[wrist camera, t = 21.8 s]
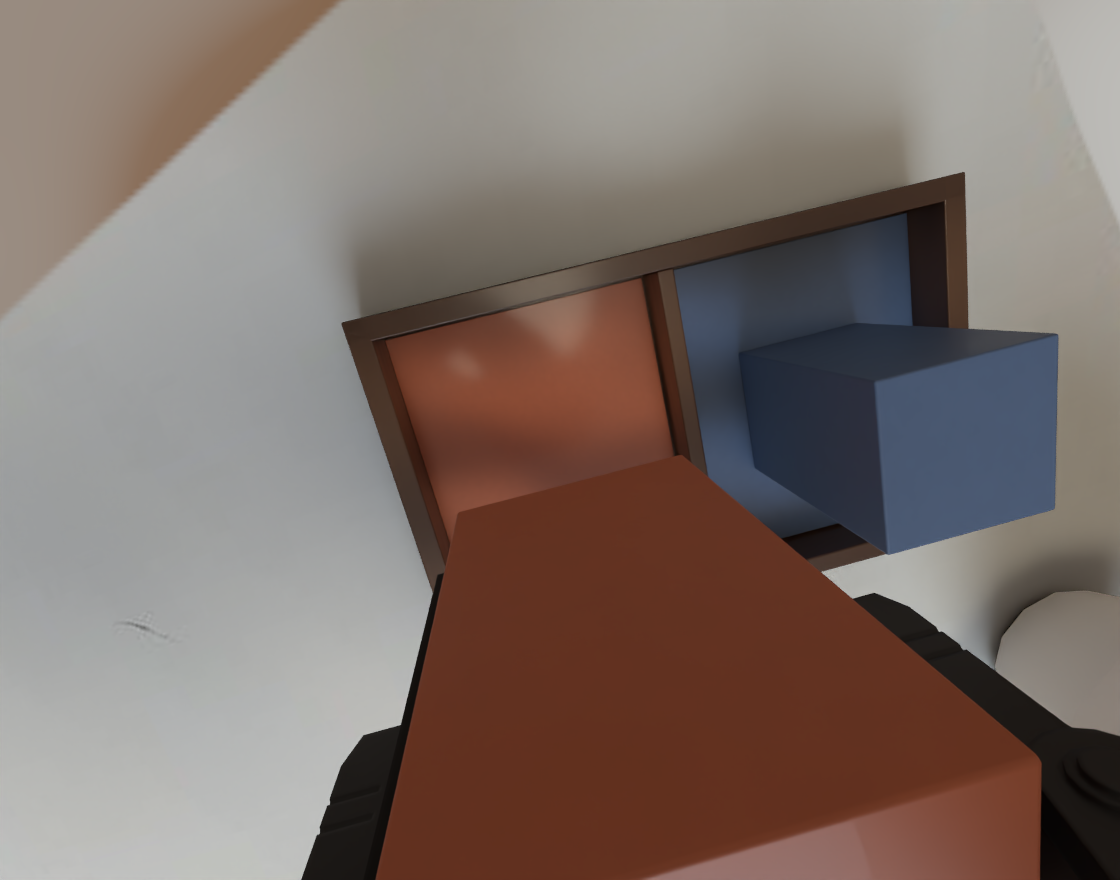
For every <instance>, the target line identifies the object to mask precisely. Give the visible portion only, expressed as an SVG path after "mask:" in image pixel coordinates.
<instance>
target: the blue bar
mask: <svg viewBox="0 0 1120 880" xmlns="http://www.w3.org/2000/svg"><path fill="white" fill-rule="evenodd" d="M739 359H740V366H741V373H742V380H743V387H744V394H745V401H746V408H747V415H748V422H749V429H750V436H751V443H752V450H753V457H754V464H755V469H757V470H758V471H760V472H761V473H763V474H764V475H766V476H767V477H769V478H770V479H772V480H773V481H775V482H777V483H778V484H780V485H781V486H783V487H784V488H786V489H787V490H789V491H790V492H792V493H793V494H795V495H797V496H798V497H800V498H801V499H803V500H804V501H806V502H807V503H809V504H810V505H812V506H813V507H815V508H816V509H818V510H820V511H821V512H823V513H824V514H826V515H827V516H829V517H830V518H832V519H833V520H835V521H836V522H838V523H840V524H841V525H843V526H844V527H846V528H847V529H849V530H850V531H852V532H853V533H855V534H856V535H858V536H860V537H861V538H863V539H864V540H866V541H867V542H869V543H870V544H872V545H873V546H875V547H876V548H878V549H880V550H881V551H883V552H884V553H886V554H888V555H890V554H894V553H898V552H901V551H905V550H909V549H912V548H916V547H919V546H923V545H927V544H930V543H934V542H938V541H941V540H945V539H948V538H952V537H956V536H959V535H963V534H967V533H970V532H974V531H978V530H981V529H985V528H988V527H992V526H996V525H999V524H1003V523H1007V522H1010V521H1014V520H1017V519H1021V518H1025V517H1028V516H1032V515H1036V514H1039V513H1043V512H1047V511H1050V510H1053V509H1054V508H1055V478H1056V429H1057V379H1058V334H1054V333H1035V332H1017V331H998V330H980V329H961V328H943V327H924V326H906V325H887V324H868V323H854V324H850V325H846V326H842V327H838V328H834V329H830V330H827V331H823V332H819V333H815V334H811V335H807V336H803V337H799V338H795V339H791V340H787V341H783V342H779V343H776V344H772V345H768V346H764V347H760V348H756V349H752V350H748V351H744V352H740V353H739Z"/></svg>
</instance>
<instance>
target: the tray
mask: <svg viewBox="0 0 1120 880" xmlns="http://www.w3.org/2000/svg"><path fill="white" fill-rule="evenodd" d="M854 323H868V324H887V325H906V326H924V327H943V328H961V329H968V286H967V243H966V201H965V172H962V173H958V174H953V175H949V176H945V177H941V178H937V179H933V180H929V181H925V182H920V183H916V184H912V185H908V186H904V187H900V188H896V189H892V190H887V191H883V192H879V193H875V194H871V195H867V196H863V197H859V198H854V199H850V200H846V201H842V202H838V203H834V204H830V205H825V206H821V207H817V208H813V209H809V210H805V211H801V212H797V213H792V214H788V215H784V216H780V217H776V218H772V219H768V220H764V221H759V222H755V223H751V224H747V225H743V226H739V227H735V228H731V229H726V230H722V231H718V232H714V233H710V234H706V235H702V236H698V237H693V238H689V239H685V240H681V241H677V242H673V243H669V244H664V245H660V246H656V247H652V248H648V249H644V250H640V251H636V252H631V253H627V254H623V255H619V256H615V257H611V258H607V259H603V260H598V261H594V262H590V263H586V264H582V265H578V266H574V267H570V268H565V269H561V270H557V271H553V272H549V273H545V274H541V275H537V276H532V277H528V278H524V279H520V280H516V281H512V282H508V283H504V284H499V285H495V286H491V287H487V288H483V289H479V290H475V291H470V292H466V293H462V294H458V295H454V296H450V297H446V298H442V299H437V300H433V301H429V302H425V303H421V304H417V305H413V306H409V307H404V308H400V309H396V310H392V311H388V312H384V313H380V314H376V315H371V316H367V317H363V318H359V319H355V320H351V321H347V322H343V323H342V327H343V330H344V333H345V336H346V339H347V342H348V345H349V348H350V350H351V353H352V356H353V359H354V362H355V365H356V368H357V371H358V374H359V377H360V380H361V383H362V386H363V389H364V392H365V395H366V398H367V400H368V403H369V406H370V409H371V412H372V415H373V418H374V421H375V424H376V427H377V430H378V433H379V436H380V439H381V442H382V445H383V448H384V450H385V453H386V456H387V459H388V462H389V465H390V468H391V471H392V474H393V477H394V480H395V483H396V486H397V489H398V492H399V495H400V498H401V500H402V503H403V506H404V509H405V512H406V515H407V518H408V521H409V524H410V527H411V530H412V533H413V536H414V539H415V542H416V545H417V548H418V551H419V553H420V556H421V559H422V562H423V565H424V568H425V571H426V574H427V577H428V580H429V583H430V586H431V589H432V592H433V591H434V587H435V583H436V579H437V575H438V574H442V573H444V571H445V567H446V562H447V558H448V553H449V549H450V544H451V540H452V536H453V531H454V527H455V522H456V518H457V513H459V512H461V511H465V510H469V509H473V508H477V507H481V506H484V505H488V504H492V503H496V502H500V501H504V500H508V499H511V498H515V497H519V496H523V495H527V494H531V493H535V492H539V491H542V490H546V489H550V488H554V487H558V486H562V485H566V484H569V483H573V482H577V481H581V480H585V479H589V478H593V477H596V476H600V475H604V474H608V473H612V472H616V471H620V470H624V469H627V468H631V467H635V466H639V465H643V464H647V463H651V462H654V461H658V460H662V459H666V458H670V457H674V456H678V455H683V456H684V457H685V458H686V459H687V460H689V461H690V462H691V463H692V464H693V465H695V466H696V467H697V468H698V469H699V470H700V471H702V472H703V473H704V474H705V475H706V476H708V477H709V478H710V479H711V480H712V481H713V482H715V483H716V484H717V485H718V486H719V487H721V488H722V489H723V490H724V491H725V492H726V493H728V494H729V495H730V496H731V497H732V498H734V499H735V500H736V501H737V502H738V503H740V504H741V505H742V506H743V507H744V508H745V509H747V510H748V511H749V512H750V513H751V514H753V515H754V516H755V517H756V518H757V519H758V520H760V521H761V522H762V523H763V524H764V525H766V526H767V527H768V528H769V529H770V530H771V531H773V532H774V533H775V534H776V535H777V536H779V537H780V538H781V539H782V540H783V541H784V542H786V543H787V544H788V545H789V546H790V547H792V548H793V549H794V550H795V551H796V552H798V553H799V554H800V555H801V556H802V557H803V558H805V559H806V560H807V561H808V562H809V563H811V564H812V565H813V566H814V567H815V568H816V569H818V570H819V571H820V572H822V571H826V570H829V569H833V568H837V567H840V566H844V565H848V564H851V563H855V562H858V561H862V560H866V559H869V558H873V557H877V556H880V555H884V554H886V553H884V552H883V551H881V550H880V549H878V548H876V547H875V546H873V545H872V544H870V543H869V542H867V541H866V540H864V539H863V538H861V537H860V536H858V535H856V534H855V533H853V532H852V531H850V530H849V529H847V528H846V527H844V526H843V525H841V524H840V523H838V522H836V521H835V520H833V519H832V518H830V517H829V516H827V515H826V514H824V513H823V512H821V511H820V510H818V509H816V508H815V507H813V506H812V505H810V504H809V503H807V502H806V501H804V500H803V499H801V498H800V497H798V496H797V495H795V494H793V493H792V492H790V491H789V490H787V489H786V488H784V487H783V486H781V485H780V484H778V483H777V482H775V481H773V480H772V479H770V478H769V477H767V476H766V475H764V474H763V473H761V472H760V471H758V470H757V469H755V464H754V457H753V450H752V443H751V436H750V429H749V422H748V415H747V408H746V401H745V394H744V387H743V380H742V373H741V366H740V359H739V353H740V352H744V351H748V350H752V349H756V348H760V347H764V346H768V345H772V344H776V343H779V342H783V341H787V340H791V339H795V338H799V337H803V336H807V335H811V334H815V333H819V332H823V331H827V330H830V329H834V328H838V327H842V326H846V325H850V324H854Z"/></svg>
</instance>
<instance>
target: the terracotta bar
mask: <svg viewBox="0 0 1120 880" xmlns="http://www.w3.org/2000/svg"><path fill="white" fill-rule="evenodd" d="M1041 768H1042V763H1041V761H1040V759H1039V757H1038V756H1037V755H1036V754H1035V753H1034V752H1033V751H1032V750H1031V749H1029V748H1028V747H1027V746H1026V745H1025V744H1024V743H1022V742H1021V741H1020V740H1019V739H1018V738H1016V737H1015V736H1014V735H1013V734H1012V733H1011V732H1009V731H1008V730H1007V729H1006V728H1005V727H1003V726H1002V725H1001V724H1000V723H999V722H998V721H996V720H995V719H994V718H993V717H992V716H990V715H989V714H988V713H987V712H986V711H985V710H983V709H982V708H981V707H980V706H979V705H977V704H976V703H975V702H974V701H973V700H971V699H970V698H969V697H968V696H967V695H966V694H964V693H963V692H962V691H961V690H960V689H958V688H957V687H956V686H955V685H954V684H953V683H951V682H950V681H949V680H948V679H947V678H945V677H944V676H943V675H942V674H941V673H940V672H938V671H937V670H936V669H935V668H934V667H932V666H931V665H930V664H929V663H928V662H927V661H925V660H924V659H923V658H922V657H921V656H919V655H918V654H917V653H916V652H915V651H913V650H912V649H911V648H910V647H909V646H908V645H906V644H905V643H904V642H903V641H902V640H900V639H899V638H898V637H897V636H896V635H895V634H893V633H892V632H891V631H890V630H889V629H887V628H886V627H885V626H884V625H883V624H882V623H880V622H879V621H878V620H877V619H876V618H874V617H873V616H872V615H871V614H870V613H869V612H867V611H866V610H865V609H864V608H863V607H861V606H860V605H859V604H858V603H857V602H856V601H854V600H853V599H852V598H851V597H850V596H848V595H847V594H846V593H845V592H844V591H842V590H841V589H840V588H839V587H838V586H837V585H835V584H834V583H833V582H832V581H831V580H829V579H828V578H827V577H826V576H825V575H824V574H822V573H821V572H820V571H819V570H818V569H816V568H815V567H814V566H813V565H812V564H811V563H809V562H808V561H807V560H806V559H805V558H803V557H802V556H801V555H800V554H799V553H798V552H796V551H795V550H794V549H793V548H792V547H790V546H789V545H788V544H787V543H786V542H784V541H783V540H782V539H781V538H780V537H779V536H777V535H776V534H775V533H774V532H773V531H771V530H770V529H769V528H768V527H767V526H766V525H764V524H763V523H762V522H761V521H760V520H758V519H757V518H756V517H755V516H754V515H753V514H751V513H750V512H749V511H748V510H747V509H745V508H744V507H743V506H742V505H741V504H740V503H738V502H737V501H736V500H735V499H734V498H732V497H731V496H730V495H729V494H728V493H726V492H725V491H724V490H723V489H722V488H721V487H719V486H718V485H717V484H716V483H715V482H713V481H712V480H711V479H710V478H709V477H708V476H706V475H705V474H704V473H703V472H702V471H700V470H699V469H698V468H697V467H696V466H695V465H693V464H692V463H691V462H690V461H689V460H687V459H686V458H685V457H684V456H683V455H678V456H674V457H670V458H666V459H662V460H658V461H654V462H651V463H647V464H643V465H639V466H635V467H631V468H627V469H624V470H620V471H616V472H612V473H608V474H604V475H600V476H596V477H593V478H589V479H585V480H581V481H577V482H573V483H569V484H566V485H562V486H558V487H554V488H550V489H546V490H542V491H539V492H535V493H531V494H527V495H523V496H519V497H515V498H511V499H508V500H504V501H500V502H496V503H492V504H488V505H484V506H481V507H477V508H473V509H469V510H465V511H461V512H459V513H457V518H456V522H455V527H454V531H453V536H452V540H451V544H450V549H449V553H448V558H447V562H446V567H445V571H444V576H443V580H442V585H441V589H440V594H439V598H438V603H437V607H436V611H435V616H434V620H433V625H432V629H431V634H430V638H429V643H428V647H427V652H426V656H425V661H424V665H423V670H422V674H421V678H420V683H419V687H418V692H417V696H416V701H415V705H414V710H413V714H412V719H411V723H410V728H409V732H408V737H407V741H406V745H405V750H404V754H403V759H402V763H401V768H400V772H399V777H398V781H397V786H396V790H395V795H394V799H393V804H392V808H391V812H390V817H389V821H388V826H387V830H386V835H385V839H384V844H383V848H382V853H381V857H380V862H379V866H378V871H377V875H376V879H375V880H1040V840H1041Z"/></svg>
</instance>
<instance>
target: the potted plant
mask: <svg viewBox="0 0 1120 880" xmlns="http://www.w3.org/2000/svg"><path fill="white" fill-rule="evenodd" d="M995 669H996V671H997V673H998V674H1000V675H1001V676H1003V677H1004V678H1005V679H1007V680H1008V681H1009V682H1011V683H1012V684H1013V685H1015V686H1016V687H1017V688H1019V689H1020V690H1021V691H1023V692H1024V693H1025V694H1027V695H1028V696H1029V697H1031V698H1032V699H1033V700H1035V701H1036V702H1037V703H1039V704H1040V705H1041V706H1043V707H1044V708H1045V709H1047V710H1048V711H1049V712H1051V713H1052V714H1054V715H1055V716H1056V717H1058V718H1059V719H1060V720H1062V721H1063V722H1064V723H1066V724H1067V725H1069V726H1070V727H1072V728H1085V729H1096V730H1100V731H1103V732H1107V733H1110V734H1114V735H1118V736H1120V597H1117V596H1112V595H1107V594H1102V593H1097V592H1092V591H1087V590H1085V591H1068V592H1055V593H1053V594H1051V595H1049V596H1047V597H1046V598H1044V599H1042V600H1040V601H1038V602H1037V603H1035V604H1033V605H1031V606H1029V607H1028V608H1026V609H1024V610H1023V611H1022V613H1021V614H1020V615H1019V616H1018V618H1017V619H1016V620H1015V621H1014V622H1013V624H1012V625H1011V626H1010V627H1009V629H1008V630H1007V631H1006V632H1005V634H1004V635H1003V636H1002V638H1001V643H1000V647H999V651H998V655H997V659H996V663H995Z"/></svg>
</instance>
